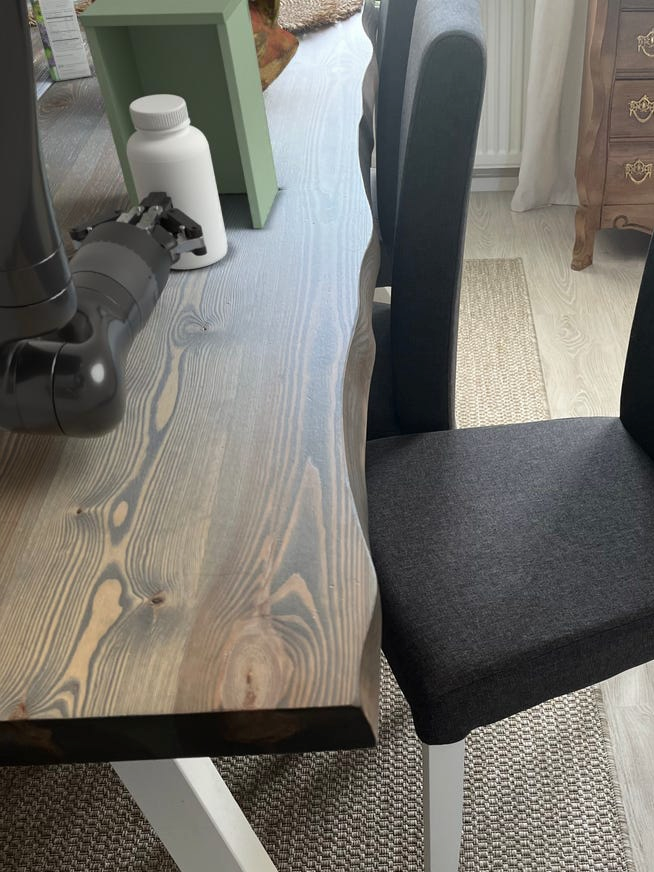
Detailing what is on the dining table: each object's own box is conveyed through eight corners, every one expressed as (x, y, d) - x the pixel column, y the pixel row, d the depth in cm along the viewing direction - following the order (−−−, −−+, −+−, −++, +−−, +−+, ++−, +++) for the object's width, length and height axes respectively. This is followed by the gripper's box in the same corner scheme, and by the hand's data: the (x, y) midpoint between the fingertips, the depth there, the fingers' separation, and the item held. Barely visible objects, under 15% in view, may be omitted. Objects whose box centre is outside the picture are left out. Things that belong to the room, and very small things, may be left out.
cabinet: (261, 230, 111) (223, 12, 96) (136, 232, 111) (78, 15, 96) (279, 187, 119) (245, -19, 104) (162, 189, 120) (112, -16, 105)
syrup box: (49, 71, 154) (16, -41, 143) (89, 66, 155) (59, -46, 145) (53, 82, 150) (19, -33, 140) (94, 76, 151) (63, -38, 141)
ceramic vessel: (116, 97, 144) (60, -119, 127) (294, 75, 150) (264, -135, 132) (125, 136, 133) (65, -95, 115) (317, 111, 138) (289, -114, 120)
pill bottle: (185, 279, 103) (148, 122, 92) (138, 258, 107) (97, 105, 96) (245, 252, 107) (215, 99, 96) (197, 232, 111) (164, 83, 100)
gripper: (178, 241, 84) (219, 161, 96) (22, 244, 85) (83, 163, 97) (198, 324, 90) (235, 237, 102) (52, 326, 90) (106, 240, 102)
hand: (161, 201), depth 99 cm, fingers closed
